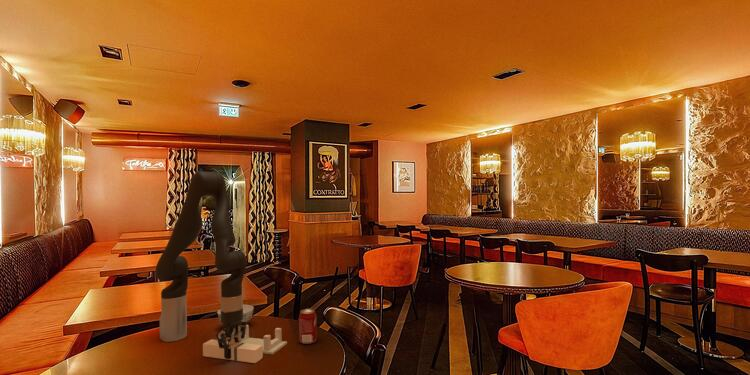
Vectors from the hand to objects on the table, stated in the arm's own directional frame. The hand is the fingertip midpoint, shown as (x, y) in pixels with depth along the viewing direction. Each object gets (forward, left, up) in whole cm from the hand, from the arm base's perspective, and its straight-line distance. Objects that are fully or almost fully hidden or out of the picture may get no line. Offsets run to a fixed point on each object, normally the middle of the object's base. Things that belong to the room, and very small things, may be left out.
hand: (232, 355), depth 135 cm
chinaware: (-19, +27, -1) cm, 33 cm away
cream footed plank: (+2, +11, -1) cm, 11 cm away
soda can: (+20, +20, -1) cm, 28 cm away
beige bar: (0, 0, -1) cm, 1 cm away
